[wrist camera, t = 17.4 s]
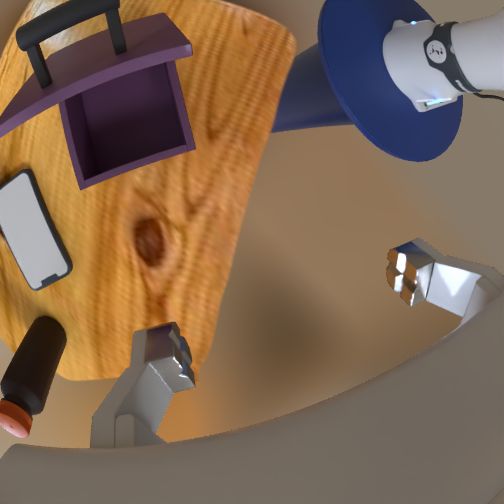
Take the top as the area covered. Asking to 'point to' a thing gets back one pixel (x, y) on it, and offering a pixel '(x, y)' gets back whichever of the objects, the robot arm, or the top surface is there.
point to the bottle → (31, 375)
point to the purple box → (126, 124)
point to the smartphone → (31, 232)
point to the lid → (88, 54)
